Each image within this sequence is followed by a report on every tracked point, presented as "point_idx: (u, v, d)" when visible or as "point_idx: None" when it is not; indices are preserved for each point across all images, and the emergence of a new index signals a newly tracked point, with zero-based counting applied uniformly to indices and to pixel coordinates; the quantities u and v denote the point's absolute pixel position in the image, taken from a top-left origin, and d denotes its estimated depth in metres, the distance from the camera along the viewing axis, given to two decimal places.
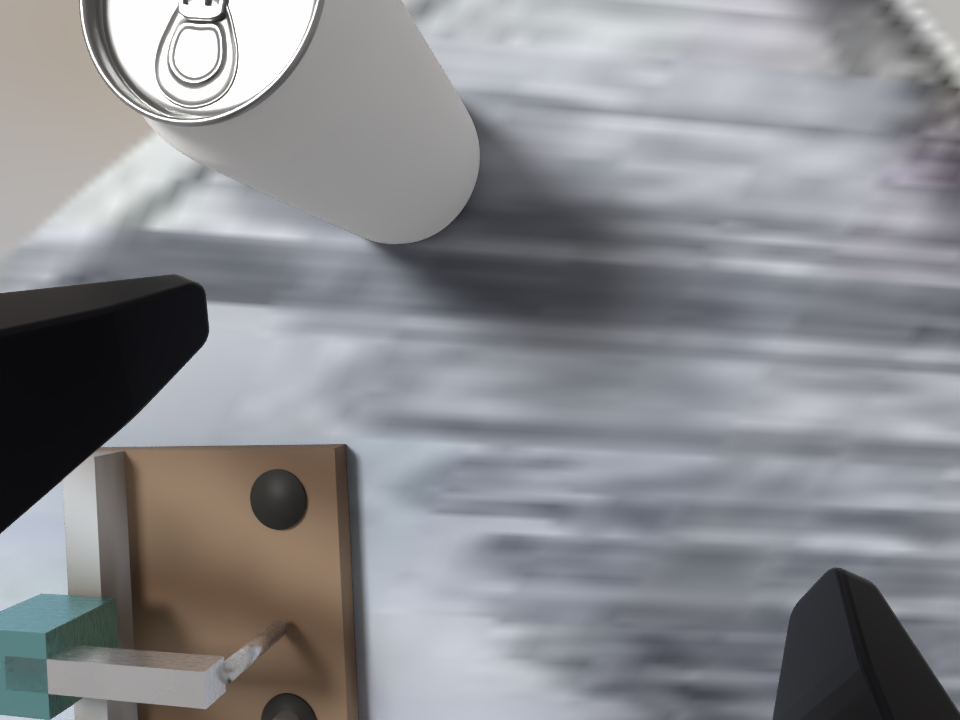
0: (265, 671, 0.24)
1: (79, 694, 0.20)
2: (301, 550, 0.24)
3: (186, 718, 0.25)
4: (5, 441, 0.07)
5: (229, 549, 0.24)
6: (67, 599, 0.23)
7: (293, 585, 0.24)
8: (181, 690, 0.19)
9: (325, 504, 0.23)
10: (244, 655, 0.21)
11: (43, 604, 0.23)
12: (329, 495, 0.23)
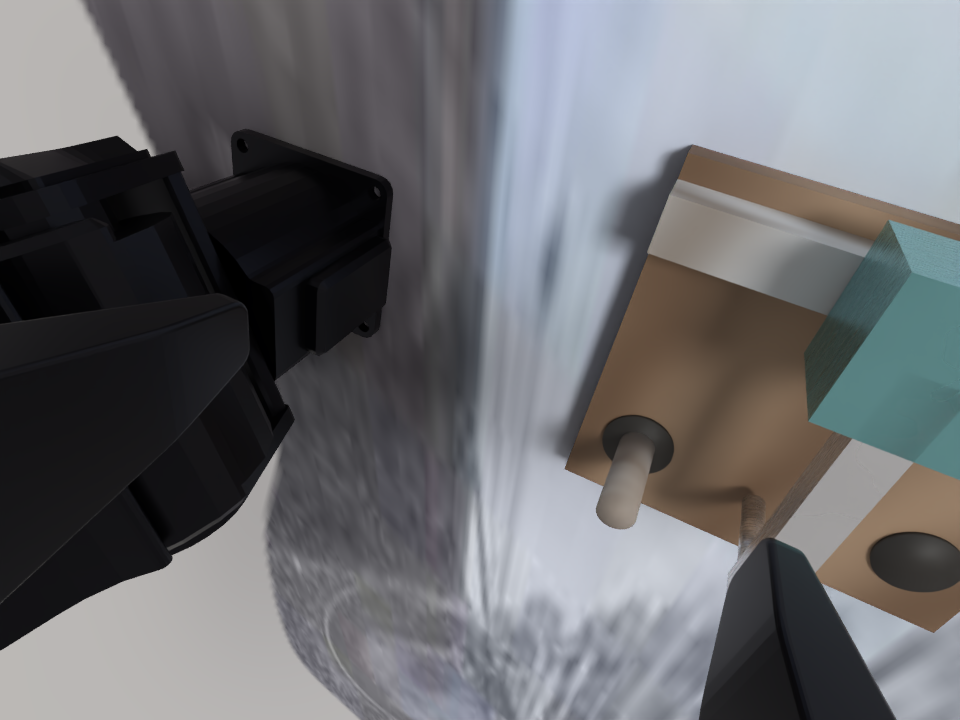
0: (706, 447, 0.19)
1: (824, 482, 0.13)
2: None
3: (684, 326, 0.18)
4: (55, 469, 0.07)
5: None
6: None
7: None
8: None
9: (872, 592, 0.20)
10: None
11: None
12: (879, 601, 0.20)
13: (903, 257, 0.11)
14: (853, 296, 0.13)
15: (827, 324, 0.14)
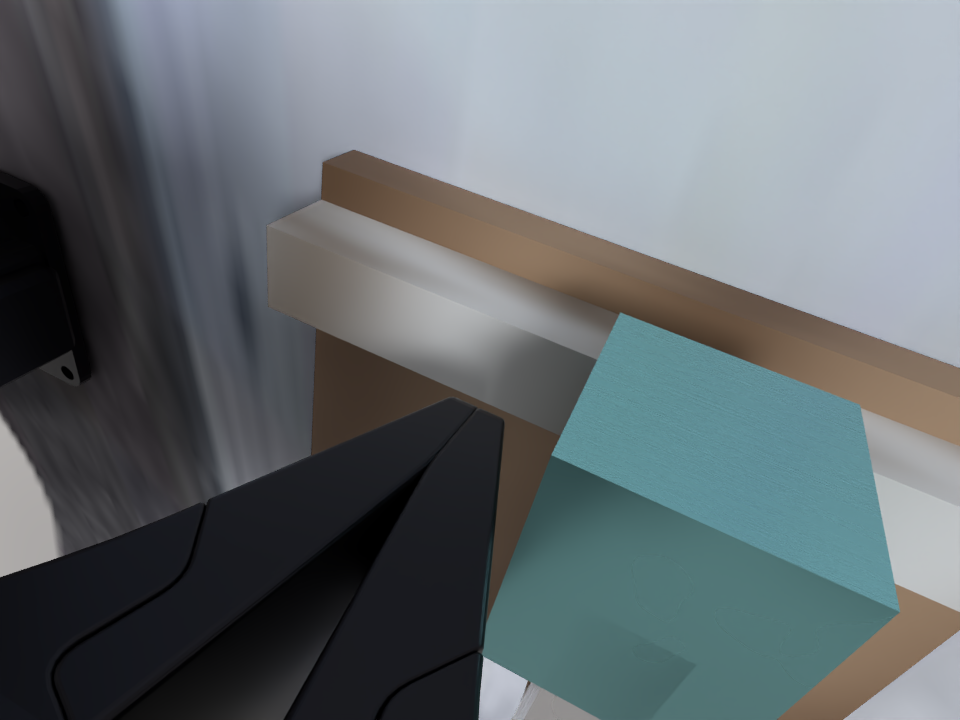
0: None
1: None
2: None
3: (382, 399, 0.13)
4: (333, 626, 0.06)
5: None
6: None
7: None
8: None
9: None
10: None
11: None
12: None
13: None
14: None
15: None
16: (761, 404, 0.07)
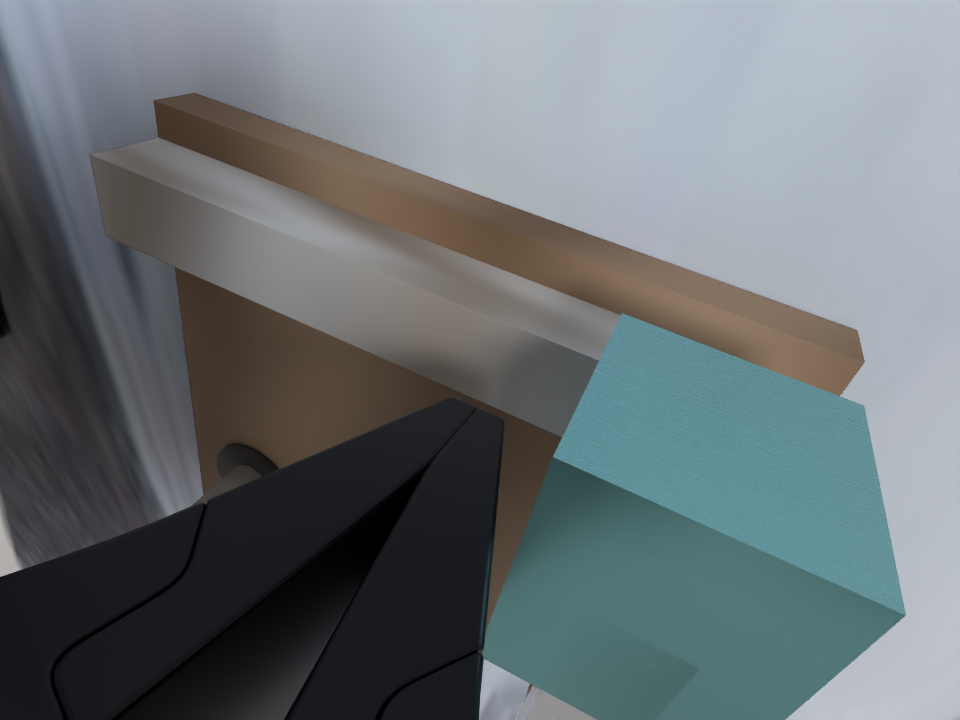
0: None
1: None
2: None
3: (240, 334, 0.14)
4: (332, 626, 0.06)
5: (499, 538, 0.14)
6: None
7: None
8: None
9: None
10: None
11: None
12: None
13: None
14: None
15: None
16: (764, 405, 0.07)
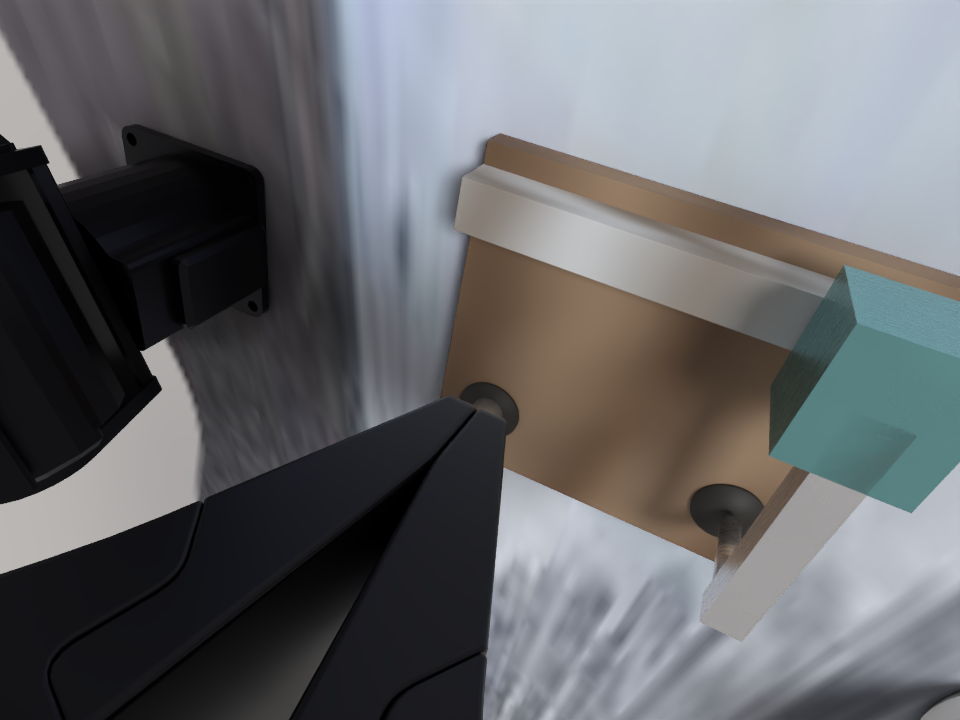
0: (544, 410, 0.21)
1: (785, 512, 0.14)
2: (660, 502, 0.21)
3: (509, 298, 0.20)
4: (330, 624, 0.06)
5: (693, 438, 0.19)
6: None
7: (626, 478, 0.21)
8: (732, 614, 0.16)
9: (698, 543, 0.22)
10: None
11: None
12: (705, 551, 0.22)
13: (851, 305, 0.12)
14: (812, 336, 0.14)
15: (790, 360, 0.15)
16: (938, 308, 0.12)
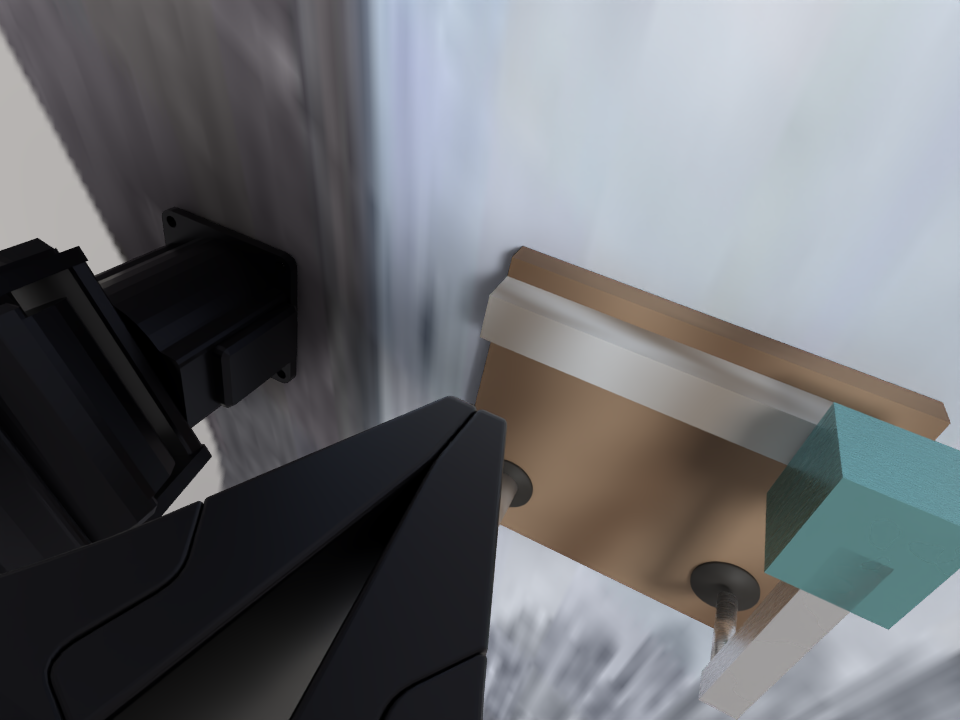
0: (557, 487, 0.23)
1: (778, 618, 0.16)
2: (662, 573, 0.23)
3: (527, 389, 0.21)
4: (330, 624, 0.06)
5: (695, 521, 0.21)
6: None
7: (631, 550, 0.23)
8: (728, 696, 0.18)
9: (697, 610, 0.23)
10: None
11: None
12: (704, 618, 0.23)
13: (838, 454, 0.14)
14: (804, 463, 0.15)
15: (784, 476, 0.16)
16: (915, 451, 0.14)
